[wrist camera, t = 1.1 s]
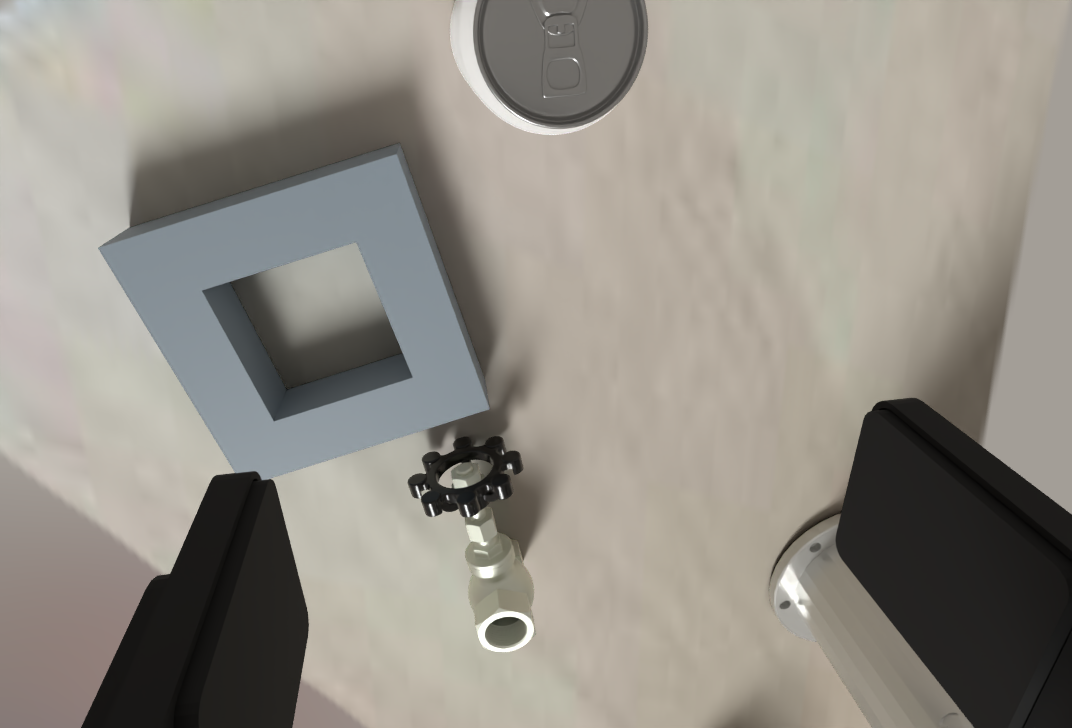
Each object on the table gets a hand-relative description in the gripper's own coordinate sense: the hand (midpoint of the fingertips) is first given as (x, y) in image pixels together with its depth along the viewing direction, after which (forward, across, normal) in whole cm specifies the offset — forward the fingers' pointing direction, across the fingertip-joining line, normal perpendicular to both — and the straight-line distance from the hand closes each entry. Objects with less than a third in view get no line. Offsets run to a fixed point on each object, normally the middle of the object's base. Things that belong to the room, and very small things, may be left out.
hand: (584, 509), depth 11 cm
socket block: (+27, +8, +7) cm, 29 cm away
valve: (+27, 0, +22) cm, 35 cm away
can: (+27, -3, -6) cm, 28 cm away
